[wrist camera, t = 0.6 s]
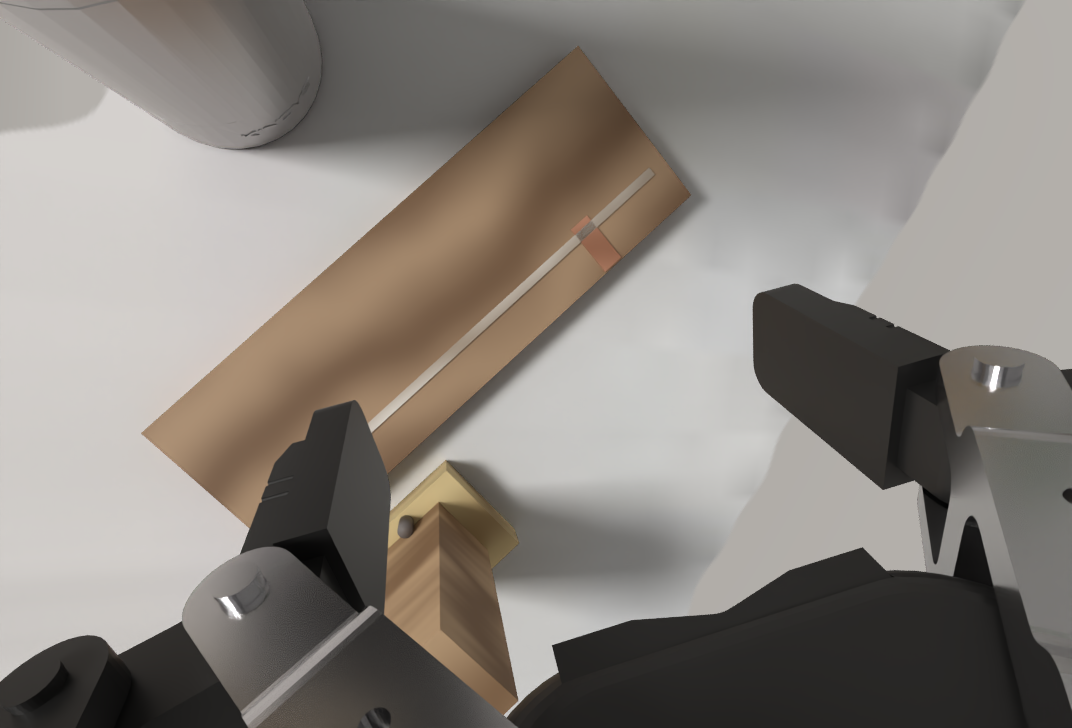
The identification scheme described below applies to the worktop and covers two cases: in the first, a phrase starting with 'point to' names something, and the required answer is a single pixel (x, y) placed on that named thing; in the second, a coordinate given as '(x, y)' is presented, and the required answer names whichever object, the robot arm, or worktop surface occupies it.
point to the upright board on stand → (452, 581)
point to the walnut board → (435, 288)
